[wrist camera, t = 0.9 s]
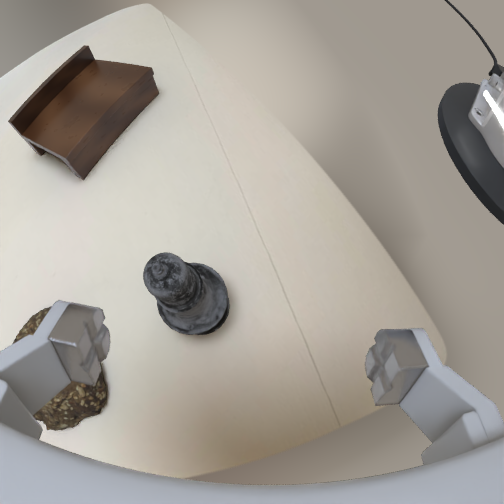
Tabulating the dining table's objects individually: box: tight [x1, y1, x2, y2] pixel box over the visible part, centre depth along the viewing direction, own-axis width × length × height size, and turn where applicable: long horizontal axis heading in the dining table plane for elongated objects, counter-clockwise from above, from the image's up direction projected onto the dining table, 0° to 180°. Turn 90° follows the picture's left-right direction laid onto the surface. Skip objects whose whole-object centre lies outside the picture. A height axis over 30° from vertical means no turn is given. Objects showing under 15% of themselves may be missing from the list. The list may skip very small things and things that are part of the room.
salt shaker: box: [143, 253, 229, 335], centre depth 22 cm, size 6×6×12 cm
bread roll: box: [13, 306, 106, 431], centre depth 23 cm, size 13×12×5 cm
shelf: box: [8, 46, 159, 179], centre depth 33 cm, size 16×14×8 cm
